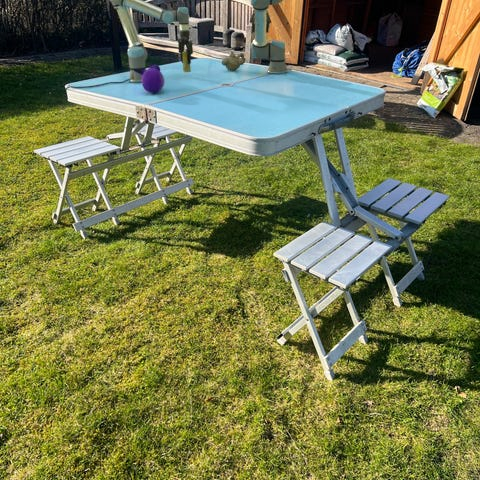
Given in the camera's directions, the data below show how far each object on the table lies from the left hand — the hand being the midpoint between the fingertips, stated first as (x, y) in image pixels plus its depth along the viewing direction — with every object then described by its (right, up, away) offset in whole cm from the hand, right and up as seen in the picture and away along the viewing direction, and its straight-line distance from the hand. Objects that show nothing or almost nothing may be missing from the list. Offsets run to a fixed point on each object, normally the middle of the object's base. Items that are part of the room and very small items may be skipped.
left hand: (186, 63), depth 348 cm
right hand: (+59, +36, +26) cm, 74 cm away
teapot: (+36, +2, +21) cm, 42 cm away
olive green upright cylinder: (0, -5, +3) cm, 6 cm away
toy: (-19, -35, -40) cm, 56 cm away
